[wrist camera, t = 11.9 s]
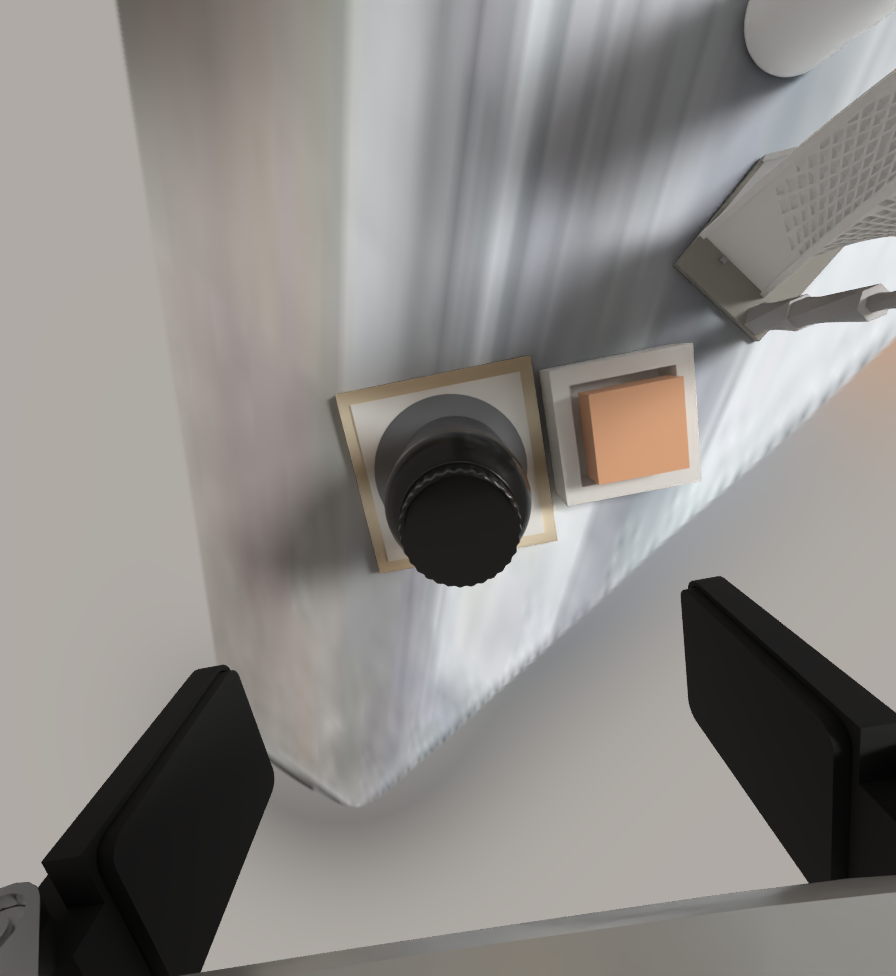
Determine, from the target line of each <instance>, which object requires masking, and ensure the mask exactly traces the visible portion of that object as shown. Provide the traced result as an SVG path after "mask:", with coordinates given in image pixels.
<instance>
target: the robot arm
mask: <svg viewBox="0 0 896 976" xmlns="http://www.w3.org/2000/svg"><path fill="white" fill-rule="evenodd" d="M681 605H682V606H681V607H682V620H683V634H684V646H685V661H686V674H687V687H688V700H689V705H690V708H691V711H692V714H693V716H694V718H695V720H696V721H697V723H698V724H699V726H700V727H701V729H702V730H703V731H704V733H705V734H706V736H707V737H708V739H709V740H710V742H711V743H712V744H713V746H714V747H715V749H716V750H717V752H718V753H719V754H720V756H721V757H722V759H723V760H724V761H725V763H726V764H727V766H728V767H729V769H730V770H731V772H732V773H733V774H734V776H735V777H736V779H737V780H738V782H739V783H740V785H741V786H742V788H743V789H744V790H745V792H746V793H747V794H748V796H749V798H750V799H751V800H752V802H753V803H754V805H755V806H756V808H757V809H758V811H759V812H760V813H761V815H762V816H763V818H764V819H765V821H766V822H767V823H768V825H769V826H770V828H771V829H772V831H773V832H774V833H775V835H776V836H777V838H778V839H779V841H780V842H781V844H782V845H783V846H784V848H785V849H786V851H787V852H788V854H789V855H790V857H791V858H792V859H793V861H794V862H795V864H796V865H797V867H798V868H799V869H800V871H801V872H802V874H803V875H804V877H805V878H806V880H807V881H808V882H809V883H808V884H801V885H792V886H785V887H776V888H768V889H760V890H752V891H744V892H736V893H728V894H721V895H714V896H707V897H700V898H693V899H686V900H679V901H672V902H666V903H659V904H651V905H644V906H638V907H630V908H623V909H616V910H610V911H602V912H596V913H588V914H582V915H575V916H568V917H561V918H554V919H548V920H541V921H534V922H527V923H520V924H514V925H507V926H500V927H493V928H487V929H480V930H473V931H467V932H460V933H453V934H446V935H440V936H433V937H427V938H420V939H413V940H407V941H400V942H394V943H387V944H380V945H374V946H368V947H361V948H354V949H347V950H342V951H334V952H329V953H322V954H315V955H309V956H303V957H296V958H290V959H284V960H277V961H271V962H265V963H259V964H252V965H246V966H240V967H233V968H227V969H221V970H214V971H207V972H201V970H202V967H203V965H204V962H205V960H206V957H207V955H208V952H209V949H210V947H211V945H212V942H213V939H214V937H215V935H216V932H217V929H218V927H219V924H220V922H221V919H222V917H223V914H224V912H225V909H226V907H227V904H228V902H229V899H230V897H231V894H232V891H233V889H234V887H235V884H236V882H237V879H238V876H239V874H240V871H241V869H242V866H243V864H244V861H245V859H246V856H247V854H248V851H249V848H250V846H251V843H252V841H253V839H254V836H255V834H256V831H257V829H258V826H259V823H260V821H261V818H262V816H263V813H264V810H265V808H266V806H267V803H268V801H269V798H270V796H271V793H272V790H273V786H274V772H273V768H272V765H271V763H270V760H269V757H268V754H267V752H266V749H265V746H264V743H263V740H262V738H261V735H260V732H259V729H258V727H257V724H256V721H255V718H254V716H253V713H252V710H251V707H250V705H249V702H248V699H247V696H246V694H245V691H244V688H243V685H242V683H241V680H240V677H239V675H238V673H237V672H236V671H234V670H230V668H229V667H228V666H226V665H219V666H213V667H208V668H202V669H198V670H195V671H194V672H193V673H192V674H191V675H190V677H189V678H188V679H187V680H186V682H185V683H184V684H183V685H182V687H181V688H180V689H179V690H178V692H177V693H176V694H175V695H174V697H173V698H172V699H171V701H170V702H169V703H168V704H167V705H166V707H165V708H164V709H163V710H162V712H161V713H160V714H159V715H158V717H157V718H156V719H155V720H154V722H153V723H152V724H151V725H150V727H149V728H148V729H147V731H146V732H145V733H144V734H143V735H142V737H141V738H140V739H139V740H138V742H137V743H136V744H135V745H134V747H133V748H132V749H131V750H130V752H129V753H128V754H127V755H126V757H125V758H124V759H123V760H122V762H121V763H120V764H119V766H118V767H117V768H116V769H115V770H114V772H113V773H112V774H111V775H110V777H109V778H108V779H107V780H106V782H105V783H104V784H103V785H102V787H101V788H100V789H99V790H98V792H97V793H96V794H95V796H94V797H93V798H92V799H91V800H90V802H89V803H88V804H87V805H86V807H85V808H84V809H83V811H82V812H81V813H80V814H79V815H78V817H77V818H76V819H75V820H74V822H73V823H72V824H71V826H70V827H69V828H68V829H67V830H66V832H65V833H64V834H63V836H62V837H61V838H60V839H59V841H58V842H57V843H56V844H55V846H54V847H53V848H52V849H51V851H50V852H49V853H48V854H47V856H46V857H45V858H44V859H43V861H42V862H41V863H42V864H43V866H44V868H45V870H46V872H47V873H48V875H47V877H46V878H45V879H44V881H43V882H42V883H41V885H40V886H39V887H37V886H36V885H34V884H32V883H29V882H22V883H14V884H11V885H8V886H6V887H3V888H0V976H896V713H895V712H894V711H893V710H891V709H890V708H889V707H888V706H886V705H885V704H884V703H883V702H881V701H880V700H879V699H877V698H876V697H875V696H874V695H872V694H871V693H870V692H869V691H867V690H866V689H865V688H863V687H862V686H861V685H860V684H858V683H857V682H856V681H855V680H853V679H852V678H851V677H849V676H848V675H847V674H846V673H844V672H843V671H842V670H841V669H839V668H838V667H837V666H835V665H834V664H833V663H832V662H830V661H829V660H828V659H827V658H825V657H824V656H823V655H821V654H820V653H819V652H818V651H816V650H815V649H814V648H813V647H811V646H810V645H809V644H807V643H806V642H805V641H803V640H802V639H801V638H800V637H799V636H797V635H796V634H795V633H793V632H792V631H791V630H790V629H788V628H787V627H786V626H784V625H783V624H782V623H781V622H779V621H778V620H777V619H776V618H774V617H773V616H772V615H770V614H769V613H768V612H767V611H765V610H764V609H763V608H762V607H760V606H759V605H758V604H756V603H755V602H754V601H753V600H751V599H750V598H749V597H748V596H746V595H745V594H744V593H742V592H741V591H740V590H739V589H737V588H736V587H735V586H733V585H732V584H731V583H730V582H728V581H727V580H726V579H725V578H723V577H721V576H717V577H711V578H706V579H700V580H695V581H691V582H690V583H689V585H688V589H686V590H683V591H682V592H681ZM200 972H201V973H200Z"/></svg>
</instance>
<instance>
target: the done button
mask: <svg viewBox="0 0 896 976" xmlns="http://www.w3.org/2000/svg"><path fill="white" fill-rule="evenodd" d="M578 396H579V404H580V412H581V420H582V428H583V436H584V444H585V452H586V460H587V468H588V476H589V478H591V479H592V480H593V481H595V482H596V483H597V484H598V485H602V484H608V483H613V482H618V481H624V480H629V479H634V478H639V477H645V476H650V475H655V474H660V473H666V472H671V471H676V470H682V469H687V468H690V464H689V449H688V434H687V420H686V405H685V390H684V376H672V375H665V376H660V377H654V378H649V379H644V380H639V381H634V382H629V383H624V384H619V385H614V386H609V387H604V388H599V389H594V390H589V391H584V392H579V393H578Z"/></svg>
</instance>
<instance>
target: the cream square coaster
mask: <svg viewBox="0 0 896 976" xmlns="http://www.w3.org/2000/svg"><path fill="white" fill-rule="evenodd" d="M335 397H336V401H337V405H338V409H339V413H340V417H341V421H342V425H343V428H344V432H345V436H346V440H347V444H348V448H349V452H350V456H351V460H352V464H353V468H354V472H355V476H356V480H357V484H358V488H359V492H360V496H361V500H362V504H363V508H364V512H365V516H366V520H367V524H368V528H369V532H370V535H371V539H372V543H373V547H374V551H375V555H376V559H377V563H378V567H379V571H380V573H386V572H391V571H396V570H402V569H407V568H413V567H415V566H414V565H412V564H411V563H410V562H409V558H408V557H407V556H406V555H405V554H404V551H403V550H402V548H401V547H400V546H399V545H398V543H397V542H396V540H395V539H394V537H393V535H392V533H391V531H390V529H389V526H388V523H387V520H386V515H385V507H384V498H385V491H386V486H387V482H388V479H389V476H390V474H391V471H392V469H393V467H394V465H395V464H396V462H397V460H398V458H399V456H400V455H401V453H402V451H403V449H404V448H405V446H406V444H407V442H408V441H409V440H410V438H411V437H412V436H413V435H414V433H415V432H416V431H418V430H419V429H420V428H421V427H422V426H424V425H425V424H427V423H429V422H431V421H433V420H436V419H438V418H442V417H447V416H464V417H469V418H472V419H475V420H478V421H480V422H482V423H484V424H485V425H487V426H488V427H490V428H491V429H492V430H493V431H494V432H495V433H496V434H497V435H498V436H499V437H500V438H501V439H502V441H503V442H504V443H505V444H506V445H507V447H508V448H509V449H510V450H511V452H512V453H513V454H514V455H515V457H516V458H517V459H518V461H519V462H520V464H521V466H522V467H523V469H524V471H525V474H526V476H527V479H528V482H529V485H530V489H531V497H532V506H531V514H530V519H529V523H528V526H527V528H526V531H525V533H524V535H523V537H522V538H521V540H520V543H519V544H518V545H517V548H520V547H526V546H531V545H537V544H542V543H547V542H553V541H558V540H557V533H556V526H555V520H554V513H553V506H552V499H551V492H550V485H549V479H548V472H547V465H546V458H545V451H544V444H543V437H542V431H541V424H540V417H539V410H538V403H537V396H536V390H535V383H534V376H533V369H532V362H531V355H528V356H523V357H518V358H513V359H508V360H503V361H498V362H493V363H488V364H484V365H479V366H474V367H469V368H464V369H459V370H454V371H449V372H444V373H439V374H434V375H429V376H424V377H419V378H414V379H409V380H404V381H399V382H394V383H389V384H384V385H379V386H375V387H370V388H365V389H360V390H355V391H350V392H345V393H340V394H336V395H335Z"/></svg>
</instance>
